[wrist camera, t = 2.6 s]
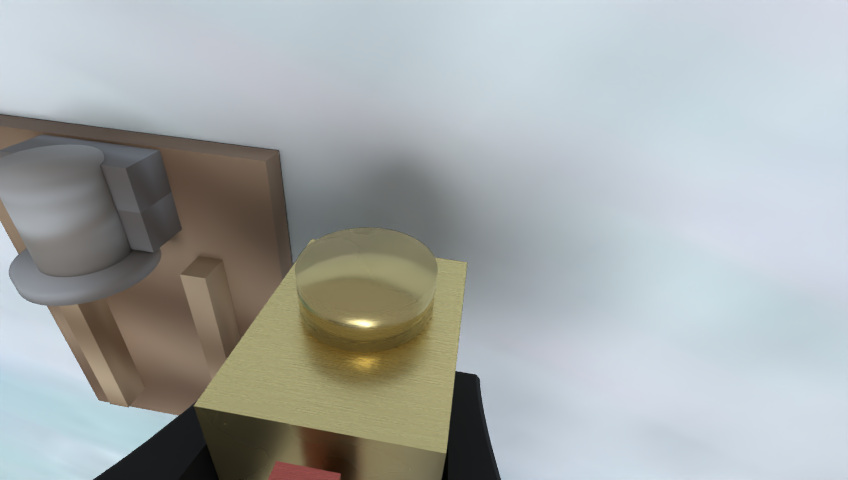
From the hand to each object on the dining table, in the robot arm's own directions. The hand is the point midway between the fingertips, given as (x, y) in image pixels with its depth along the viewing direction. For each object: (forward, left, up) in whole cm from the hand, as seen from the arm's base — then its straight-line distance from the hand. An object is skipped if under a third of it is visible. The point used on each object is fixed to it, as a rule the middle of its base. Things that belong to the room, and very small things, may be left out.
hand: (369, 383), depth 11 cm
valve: (0, 0, -2) cm, 2 cm away
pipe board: (-5, +11, -7) cm, 14 cm away
